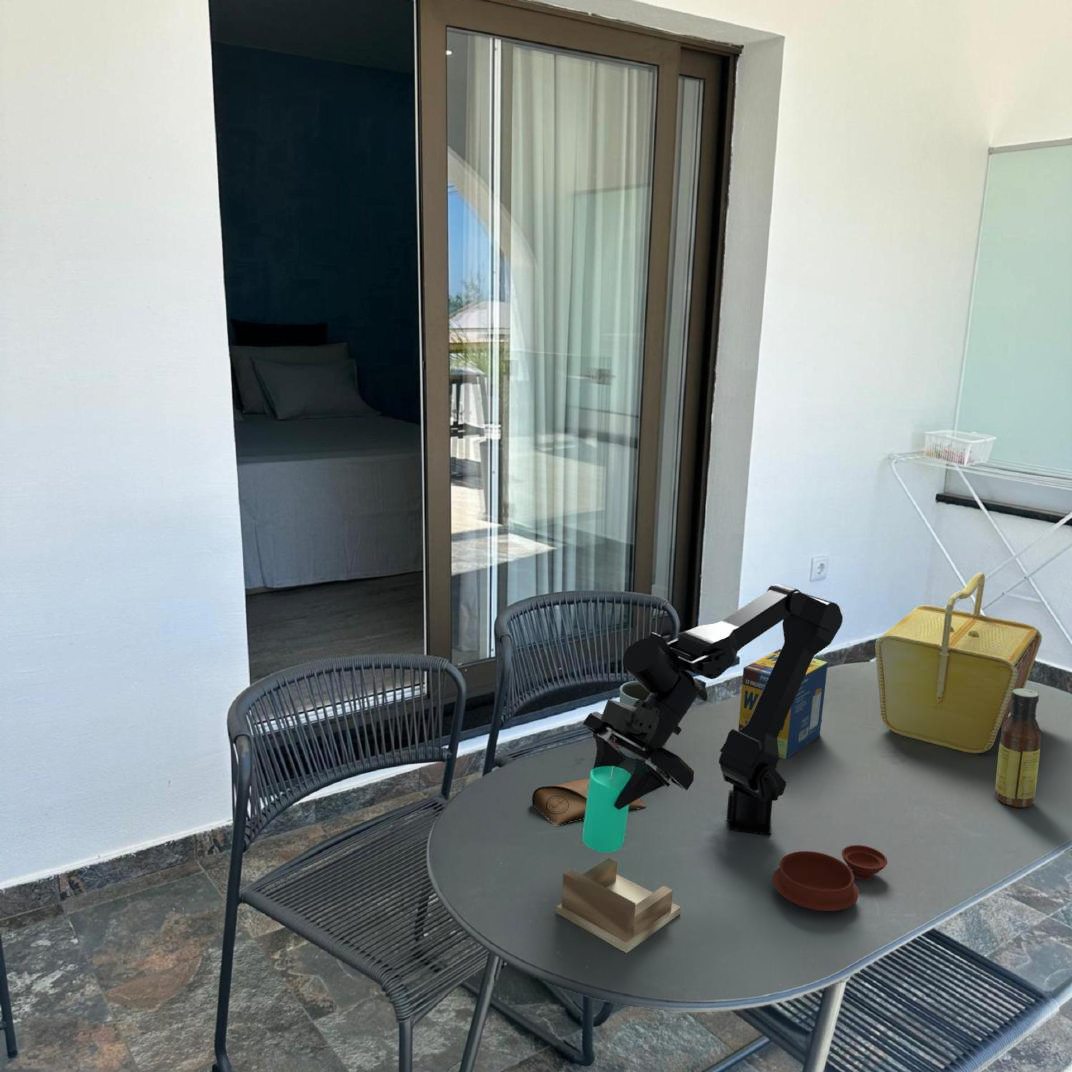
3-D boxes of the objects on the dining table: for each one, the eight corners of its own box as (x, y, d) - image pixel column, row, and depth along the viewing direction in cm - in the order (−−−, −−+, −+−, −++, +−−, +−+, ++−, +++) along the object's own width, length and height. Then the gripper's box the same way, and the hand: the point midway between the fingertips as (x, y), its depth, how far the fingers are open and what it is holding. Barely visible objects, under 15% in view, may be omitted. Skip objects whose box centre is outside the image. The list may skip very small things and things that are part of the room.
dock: (611, 877, 140) (613, 840, 139) (680, 913, 132) (683, 873, 131) (556, 912, 131) (557, 873, 130) (626, 953, 124) (629, 911, 122)
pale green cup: (615, 737, 187) (618, 679, 184) (667, 739, 187) (671, 681, 184) (617, 761, 177) (621, 699, 174) (673, 763, 177) (677, 702, 174)
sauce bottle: (1032, 797, 169) (1049, 689, 164) (1034, 812, 163) (1051, 702, 159) (991, 788, 171) (1007, 682, 167) (991, 803, 166) (1007, 694, 161)
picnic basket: (904, 688, 218) (920, 559, 211) (1030, 718, 203) (1052, 580, 196) (863, 730, 194) (879, 586, 188) (1002, 767, 180) (1025, 613, 173)
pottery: (753, 890, 138) (756, 862, 137) (843, 850, 150) (846, 824, 149) (819, 933, 129) (823, 904, 128) (909, 887, 140) (913, 860, 139)
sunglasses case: (554, 828, 153) (545, 785, 155) (536, 830, 159) (528, 789, 161) (650, 806, 161) (641, 766, 163) (630, 810, 167) (622, 770, 169)
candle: (579, 847, 137) (588, 773, 133) (585, 824, 142) (594, 752, 139) (621, 856, 136) (631, 781, 132) (625, 832, 141) (636, 759, 138)
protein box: (735, 743, 186) (742, 667, 183) (773, 719, 198) (779, 647, 194) (786, 760, 180) (793, 681, 176) (821, 735, 191) (829, 660, 188)
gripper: (594, 659, 142) (531, 747, 139) (683, 702, 128) (615, 801, 124) (632, 697, 149) (574, 782, 145) (721, 742, 134) (658, 838, 130)
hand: (602, 799), depth 136 cm, fingers closed on candle, 5 cm apart
